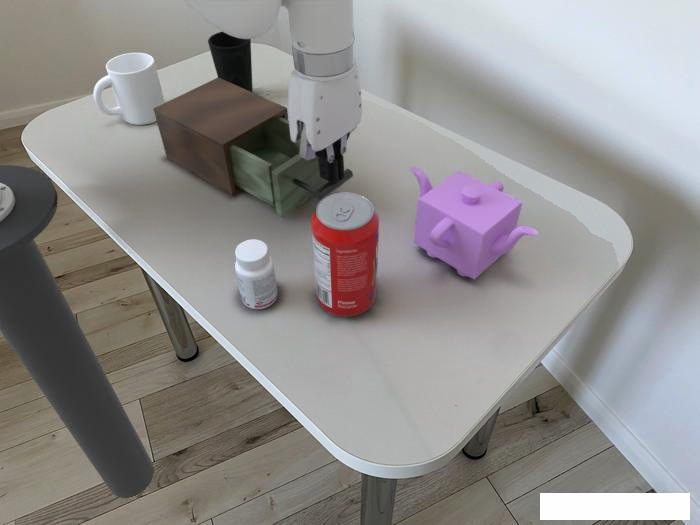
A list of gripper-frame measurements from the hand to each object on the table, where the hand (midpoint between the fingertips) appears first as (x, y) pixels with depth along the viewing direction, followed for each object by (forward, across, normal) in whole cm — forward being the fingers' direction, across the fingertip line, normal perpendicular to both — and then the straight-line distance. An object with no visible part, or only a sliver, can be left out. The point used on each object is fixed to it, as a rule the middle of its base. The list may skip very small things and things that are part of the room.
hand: (332, 177), depth 83 cm
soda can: (+7, +12, +13) cm, 19 cm away
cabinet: (+6, 0, -23) cm, 24 cm away
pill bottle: (+6, +19, +4) cm, 21 cm away
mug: (+6, +3, -47) cm, 48 cm away
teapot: (+7, -5, +20) cm, 21 cm away
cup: (+6, -14, -38) cm, 41 cm away
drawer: (+5, 0, -9) cm, 11 cm away
